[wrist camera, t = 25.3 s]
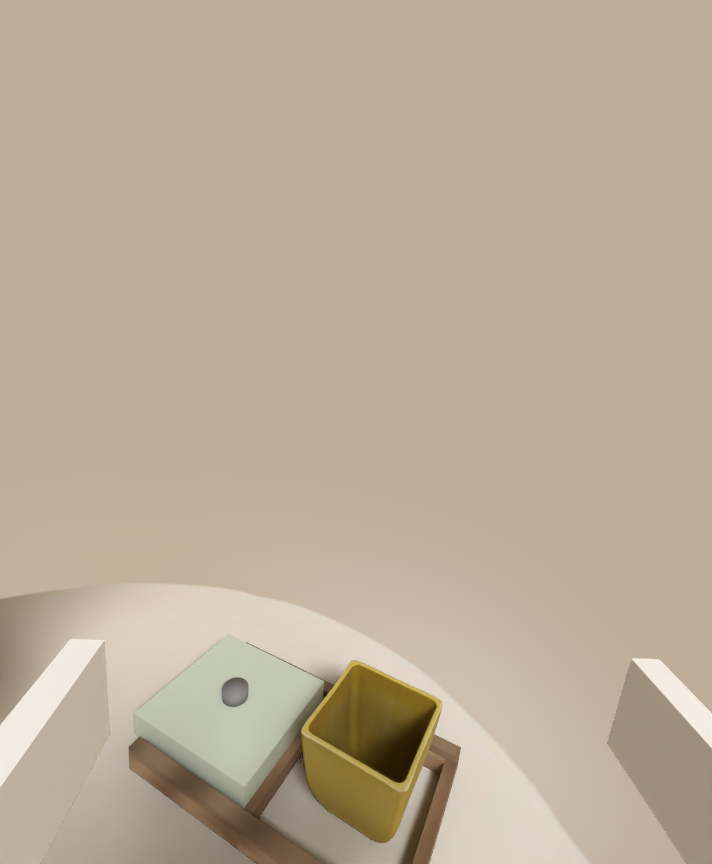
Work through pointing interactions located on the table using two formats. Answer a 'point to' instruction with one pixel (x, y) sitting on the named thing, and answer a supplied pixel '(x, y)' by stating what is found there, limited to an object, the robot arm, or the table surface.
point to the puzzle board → (242, 827)
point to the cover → (230, 716)
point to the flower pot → (368, 748)
